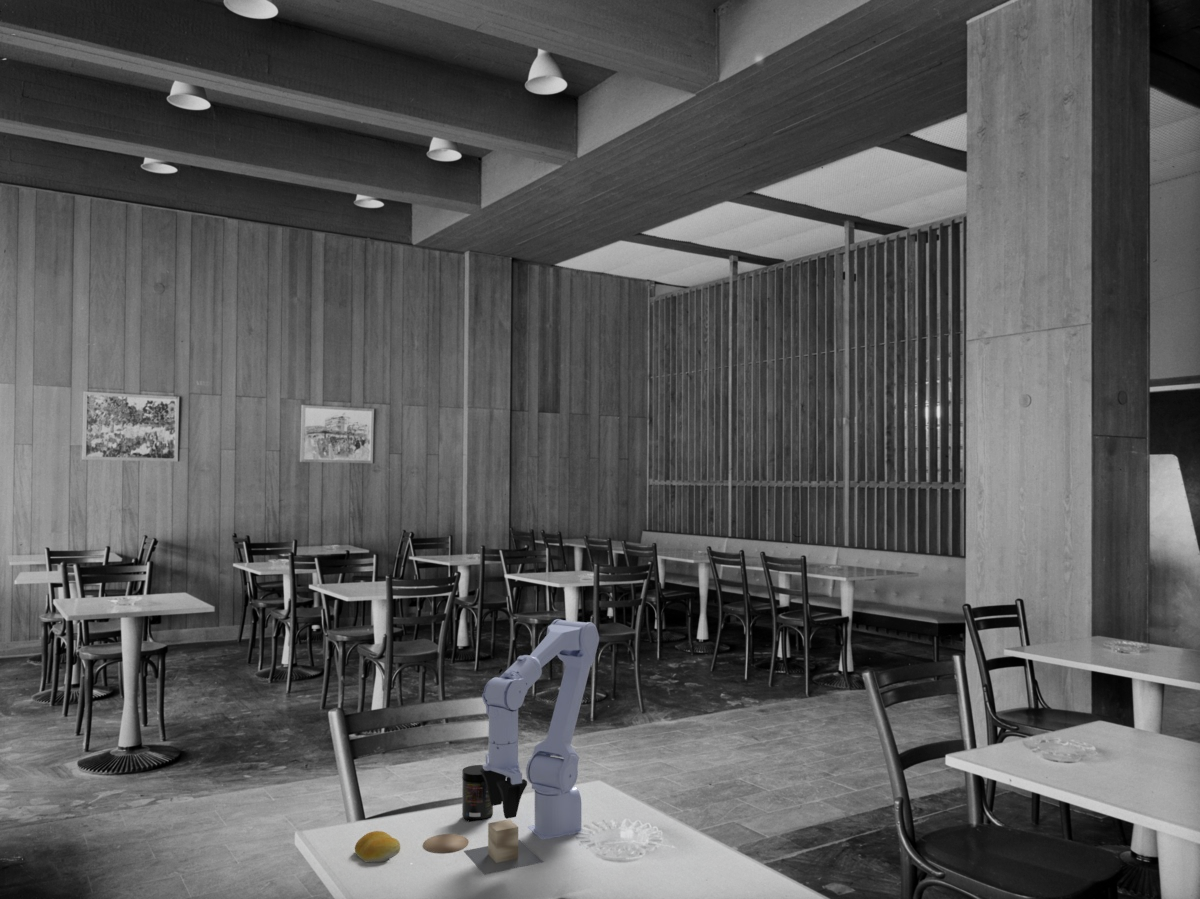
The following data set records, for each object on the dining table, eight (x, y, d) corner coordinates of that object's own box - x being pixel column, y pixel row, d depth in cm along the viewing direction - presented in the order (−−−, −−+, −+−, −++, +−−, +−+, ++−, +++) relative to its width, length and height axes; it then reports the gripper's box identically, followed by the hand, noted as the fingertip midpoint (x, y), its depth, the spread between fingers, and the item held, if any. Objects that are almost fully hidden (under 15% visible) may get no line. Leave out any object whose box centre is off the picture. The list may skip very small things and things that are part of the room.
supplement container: (494, 811, 203) (494, 764, 203) (492, 823, 196) (492, 774, 196) (463, 812, 202) (463, 765, 203) (460, 824, 196) (460, 775, 196)
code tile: (520, 842, 186) (520, 839, 186) (543, 864, 175) (543, 861, 175) (463, 853, 180) (463, 850, 180) (484, 877, 169) (484, 874, 169)
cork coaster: (460, 834, 190) (460, 831, 190) (474, 850, 182) (474, 846, 182) (417, 842, 185) (417, 838, 185) (430, 859, 177) (430, 855, 177)
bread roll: (370, 868, 174) (370, 847, 174) (349, 853, 181) (349, 833, 181) (408, 856, 179) (408, 835, 180) (387, 842, 186) (387, 822, 186)
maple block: (509, 849, 180) (509, 819, 181) (518, 858, 176) (518, 826, 177) (488, 854, 178) (488, 823, 179) (496, 862, 174) (496, 831, 175)
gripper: (471, 733, 183) (471, 802, 182) (497, 753, 170) (497, 826, 169) (504, 729, 186) (504, 796, 186) (532, 748, 173) (532, 820, 173)
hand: (503, 810), depth 178 cm, fingers open, 7 cm apart
